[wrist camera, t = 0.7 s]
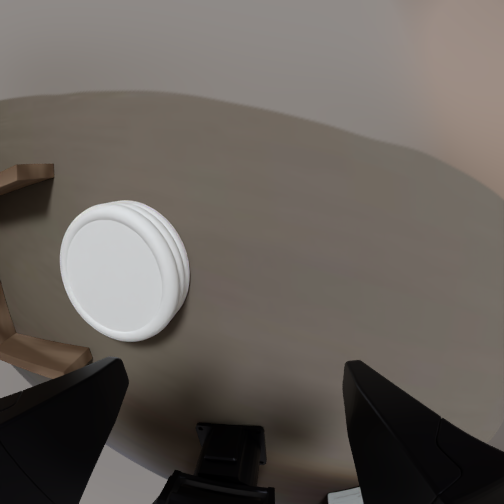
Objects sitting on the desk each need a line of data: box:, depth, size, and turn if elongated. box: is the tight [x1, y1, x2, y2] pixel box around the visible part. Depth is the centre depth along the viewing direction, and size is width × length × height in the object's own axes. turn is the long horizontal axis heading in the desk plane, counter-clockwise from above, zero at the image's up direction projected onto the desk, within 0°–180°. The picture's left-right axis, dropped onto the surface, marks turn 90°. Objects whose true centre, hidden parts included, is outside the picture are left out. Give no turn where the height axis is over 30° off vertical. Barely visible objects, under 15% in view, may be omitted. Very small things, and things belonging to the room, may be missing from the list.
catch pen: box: [0, 164, 92, 379], centre depth 20 cm, size 18×14×4 cm
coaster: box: [60, 200, 190, 342], centre depth 19 cm, size 10×10×4 cm
